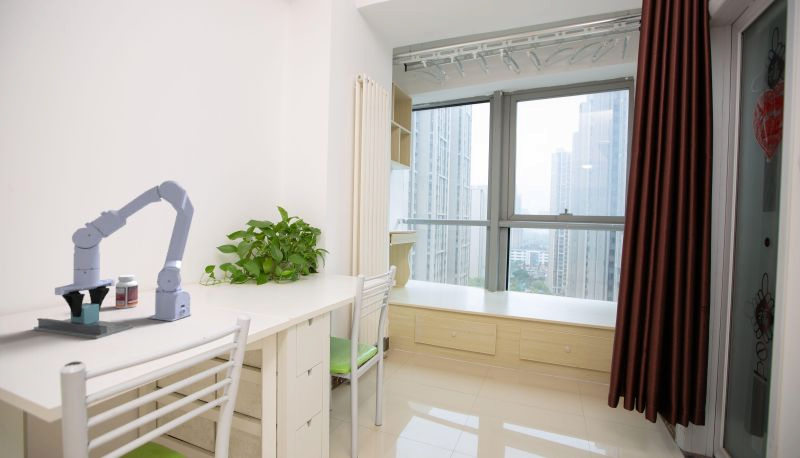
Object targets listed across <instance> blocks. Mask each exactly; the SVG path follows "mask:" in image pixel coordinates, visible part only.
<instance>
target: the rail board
mask: <svg viewBox="0 0 800 458" xmlns="http://www.w3.org/2000/svg"><path fill="white" fill-rule="evenodd" d="M36 319H37V321H38V323H37V324H38V326H34V327H33V331H37V332H45V333H50V334H60V335H66V336H72V337H80V338H85V339H87V338H88V339H94V340H98V339H101V338H103V337H107V336H111V335H114V334H117V333H120V332H123V331H127V330H130V329H133V328H134V325H133V324H128V323H123V322H122V323H120V322H112V321H104V320H99V321H97V322H94V323H90V324H85V323H77V322H71V318H68V319H63V320H62V319H53V318H41V317H40V318H36Z"/></svg>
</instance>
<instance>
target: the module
mask: <svg viewBox="0 0 800 458" xmlns="http://www.w3.org/2000/svg"><path fill="white" fill-rule="evenodd" d="M70 319H71V322H77V323H85V324H90V323H94V322H97V321H100V311H99V304H92V303H91V302H90V303H89V302H84V303H83V302H82V312H81V317H73V315H72V312H71V311H70Z"/></svg>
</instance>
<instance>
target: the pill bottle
mask: <svg viewBox="0 0 800 458" xmlns="http://www.w3.org/2000/svg"><path fill="white" fill-rule="evenodd" d="M117 279H118V282H117V283H116V284H115V307H116V308H117V309H129V308H135V307H137V306H138V305H139V304H138V302H139V301H138V300H139V299H138V297H139V296H138V293H139V290H138V288H139V284H138V281H136V275H135V274H123V275H118V277H117Z"/></svg>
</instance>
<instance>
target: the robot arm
mask: <svg viewBox="0 0 800 458" xmlns="http://www.w3.org/2000/svg"><path fill="white" fill-rule="evenodd" d="M162 199H163V200H165V201H166V202H167V203H169V204H170V205H171V206H172V208H173V209H174V210H175V211H176V213H177V214H176V217H175V222H174V225H173V229H172V233H171V236H170V237H171V238H170V240H169V241H170V242H169V245H168V248H167V252H166V257H165V259H164V264H163V266H162V267H163V268H162V269H161V270H160V271H159V272H158V275H157V280H156V284H157V286H158V287H156V288H155V300H154V301H155V302H154V303H155V305H154V306H155V307H154V315H153V314H152V315H149V316H147V318H148V319H152V320H159V321H160V320H161V321H169V322H174V321H178V320H179V319H180V320H181V319H183V318H186V317H189V316H192V315H193V314H192V313H191V295H190V293H189V292H187V291H186V290H184V289H183V286H182V285H181V283H182V278H181V273H180V272H181V268H182V261H183V258H184V253H185V250H186V246H187V241H188V238H189V233H190V229H191V226H192V225H191V224H192V222H193V218H194V213H195V208H194V205H193V204H192V201H191V200H190V197H189V195H188V193H187V190H186V189H185V188H184V187H183V186H182V185H181V184H180V183H179V182H177V181H175V180H165V181H163V182H161V184H160V185H155V186H153V187H151V188H149V189H148V190H146V191H144V192H143V193H141V194H140V195H138V196H137V197H135V198H134V199H132V200H130V201H129V202H128V203H126V204H125V205H124V206H123V207H121V208H119V209H118V210H114V209H109V210H108V211H106V210H104V211H102V212H101V213H100V216H99V217H97V218H95V219H94V220H92V221H91V222H86V223H84V226H85V227H79V228H77V230H76V231H75V232H73V234H72V235H71V240H72V243H73V244H74V248H73V250H74V252H73V280H72V283H71V284H66V285H62V286H58V287H54V295H55V296H62V298H63V299H64V300H65V302H66V304H67V305H68V307H69V310H70V313H71V312H72V315H73V317H81V312H82V304H83V301H84V297H85V295H86V293H81V292H82V291H88V294H89V298H90V303H92V304H99V312H100V310H101V308H102V306H103V305H102V304H103V301H104V299H105V298H106V296H107V295H108V293H109V292H110V288H109V287H113V286H115V279H113V278H112V279H111V278H110V279H108V278H107V279H102V280H101V279H100V278H101V277H100V276H101V271H100V269H101V253H100V243H101V242H102V240H103V238H104V239H106V238H108V237H110V236H111V235H112V234H114V233H116V232H117V231H118V230H120V229H122V228H123V227H125V225H126V224H127V219H128V218H129V217H131V216H133V215H134V214H136V213H137V212H139V211H140V210H142V209H143V208H145V207H147V206H148V205H150V204H152V203H159V202H162Z"/></svg>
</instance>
